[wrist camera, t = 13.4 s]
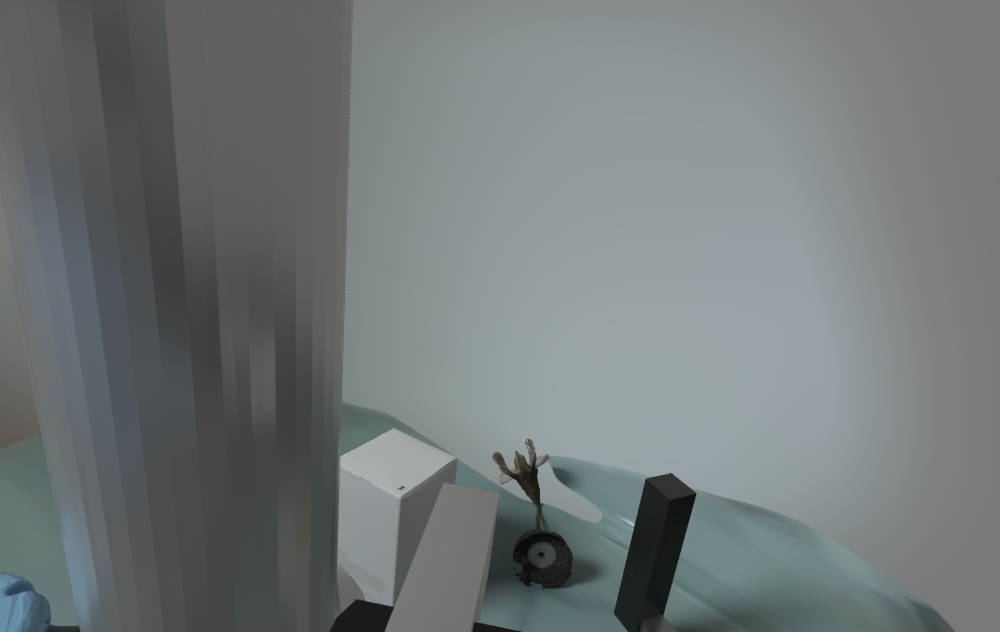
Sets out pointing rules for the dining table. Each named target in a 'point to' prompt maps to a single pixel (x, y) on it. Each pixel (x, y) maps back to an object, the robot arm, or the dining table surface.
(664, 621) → the round grey fixture
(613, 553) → the dining table surface
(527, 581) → the artificial flower
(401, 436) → the supplement box
